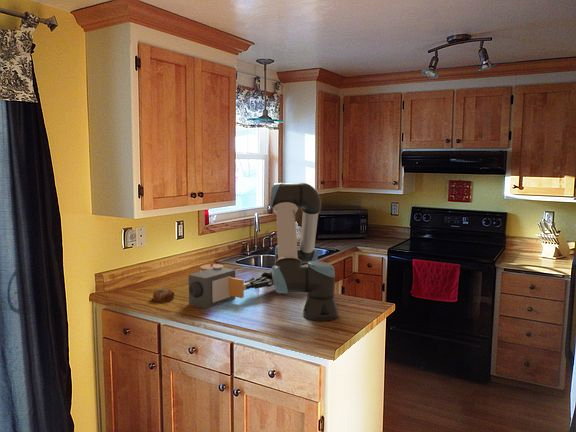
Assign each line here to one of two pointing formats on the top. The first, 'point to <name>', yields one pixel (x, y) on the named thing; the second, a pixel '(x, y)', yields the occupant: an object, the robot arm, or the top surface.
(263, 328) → the top surface
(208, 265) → the lidded bowl
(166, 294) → the bread roll
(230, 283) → the door
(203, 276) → the box
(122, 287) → the top surface
